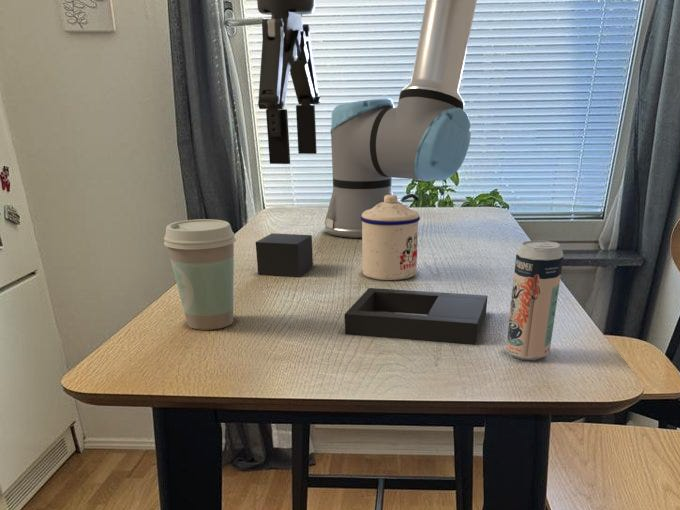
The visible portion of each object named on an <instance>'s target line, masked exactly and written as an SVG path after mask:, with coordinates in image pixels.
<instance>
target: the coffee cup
mask: <svg viewBox="0 0 680 510" xmlns="http://www.w3.org/2000/svg"><path fill="white" fill-rule="evenodd" d="M235 235H236V234H235V232H233V229H232V226H231V224H230V222H228V221H226V220H222V219H210V218H209V219H207V218H203V219H199V218H198V219H187V220H180V221H175V222H171V223H169V224H167V225H166V229H165V235H164V237H163V239H164V242H163V245H164V246H165V247H167V251H168V252H167V253H168V255H169V260H170V263H171V266H172V271H173V275H174V278H175V282H176V285H177V289H178V294H179V297H180V301H181V306H182V308H183V309H182V310H183V312H184V316H185V320H186V323H187V326H188V327H189V328H191V329H195V330H200V331H212V330H213V331H214V330H218V329H219V330H220V329H223V328H227V327H229V326H231V325H232V324H233V323H234V300H235V299H234V296H235V295H234V291H235V290H234V289H235V288H234V287H235V286H234V281H235V280H234V279H235V278H234V277H235V276H234V275H235V274H234V273H235V271H234V270H235V266H234V265H235V263H234V262H235V249H234V247H235V243H236V241H237V239H236V237H235Z"/></svg>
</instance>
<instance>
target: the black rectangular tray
mask: <svg viewBox="0 0 680 510" xmlns="http://www.w3.org/2000/svg"><path fill="white" fill-rule="evenodd" d="M487 305H488V295H486V294H485V295H484V294H471V293H457V292H455V293H454V292H438V291H426V290H425V291H424V290H409V289H407V290H406V289H395V288H393V289H392V288H377V287H368V288H367V289H366V290H365V291H364V292H363V293H362V295H360V297H359V298H358V299H357V300H356V301H355V302H354V303H353V304H352V305H351V307H349V309H348V310H347V311H346V312H345V313H344V334H345V335H355V336H356V335H357V336H368V337H379V338H380V337H381V338H392V339H393V338H394V339H405V340H406V339H407V340H419V341H431V342H444V343H453V344H454V343H455V344H467V345H468V344H469V345H476V344H477V341H478V339H479V335H480V333H481V330H482V327H483V324H484V321H485V318H486V315H487ZM384 311H385V312H384ZM395 312H396V313H395ZM397 312H398V313H397ZM408 313H409V314H408ZM410 313H413V314H410Z"/></svg>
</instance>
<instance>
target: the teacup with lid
mask: <svg viewBox="0 0 680 510" xmlns="http://www.w3.org/2000/svg"><path fill="white" fill-rule="evenodd" d="M397 200H398V196H397V195H396V194H393V195H385V197H384V202H382V203H379V204H377V205H376V206H375V207H373V208H372V209H369V210H366V211H364V212H363V213H362V215H361V220H362V238H361V239H362V241H361V244H362V245H361V247H362V250H361V255H362V260H361V261H362V268H361V269H362V270H361V271H362V274H363V275H364V276H365V277H367V278H368V279H369V278H370V279H373V280H379V281H401V280H407V279H411V278H412V277H414V276H416V274H417V272H418V271H417V269H418V266H417V265H418V247H419V246H418V242H419V221H420V220H421V217H420V213H419V212H418V211H417V210H414V209H411V208H409V207H408V206H407V205H405V203H404V204H402V203H403V202H402V203H399V202H397Z"/></svg>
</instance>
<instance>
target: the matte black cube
mask: <svg viewBox="0 0 680 510" xmlns="http://www.w3.org/2000/svg"><path fill="white" fill-rule="evenodd" d="M255 253H256V265H257V274H258V275H264V276H277V277H280V276H281V277H294V278H295V277H296V278H300V277H301V276H302V275H304V274H305V273H306V272H308V271H309V270H310V269H312V268H313V267H314V257H313V254H314V253H313V236H312V235H311V234H295V233H273V232H272V233H270V234H268V235H266V236H264V237H262V238H261V239H258V240H257V241H255Z"/></svg>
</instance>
